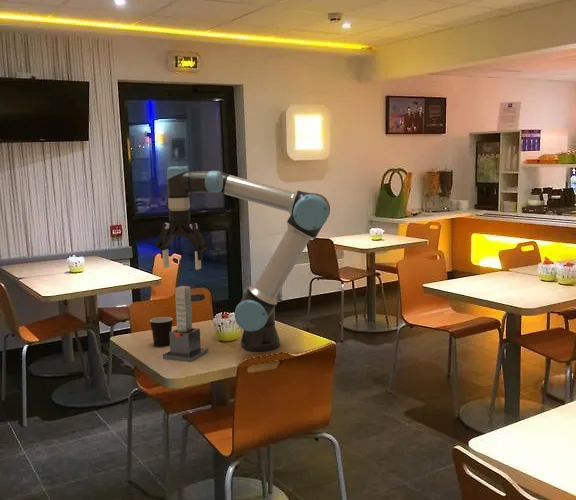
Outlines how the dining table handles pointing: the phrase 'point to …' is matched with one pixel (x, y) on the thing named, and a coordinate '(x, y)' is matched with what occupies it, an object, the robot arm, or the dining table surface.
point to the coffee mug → (161, 331)
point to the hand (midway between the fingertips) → (182, 268)
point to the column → (183, 309)
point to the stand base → (185, 346)
